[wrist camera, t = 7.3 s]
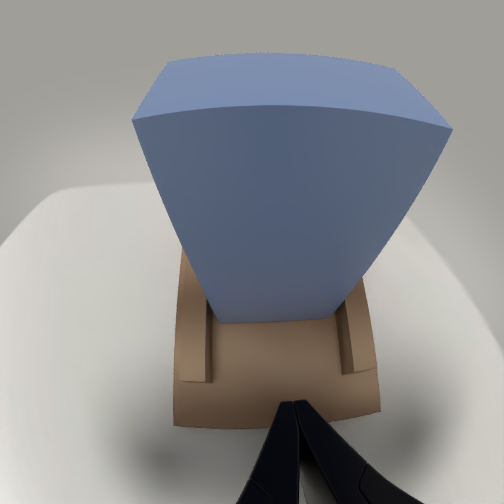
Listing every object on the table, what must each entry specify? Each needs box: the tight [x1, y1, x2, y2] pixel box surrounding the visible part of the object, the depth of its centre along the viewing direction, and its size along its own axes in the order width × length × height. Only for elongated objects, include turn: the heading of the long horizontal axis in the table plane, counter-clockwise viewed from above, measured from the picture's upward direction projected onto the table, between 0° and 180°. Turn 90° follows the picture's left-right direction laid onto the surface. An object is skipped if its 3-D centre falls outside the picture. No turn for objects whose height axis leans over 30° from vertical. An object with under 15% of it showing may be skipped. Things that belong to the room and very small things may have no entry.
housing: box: [173, 247, 381, 429], centre depth 13 cm, size 12×11×5 cm
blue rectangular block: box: [132, 53, 453, 323], centre depth 10 cm, size 3×6×12 cm, turn 92°
